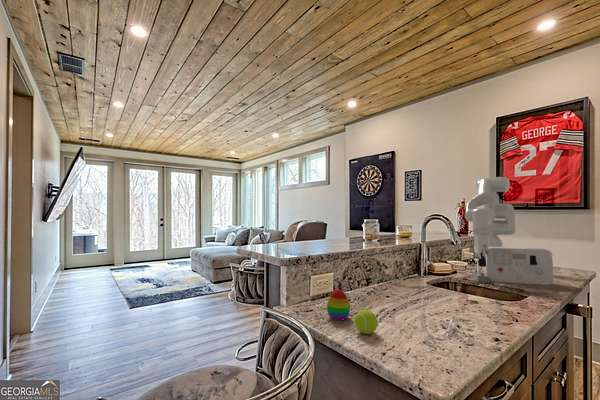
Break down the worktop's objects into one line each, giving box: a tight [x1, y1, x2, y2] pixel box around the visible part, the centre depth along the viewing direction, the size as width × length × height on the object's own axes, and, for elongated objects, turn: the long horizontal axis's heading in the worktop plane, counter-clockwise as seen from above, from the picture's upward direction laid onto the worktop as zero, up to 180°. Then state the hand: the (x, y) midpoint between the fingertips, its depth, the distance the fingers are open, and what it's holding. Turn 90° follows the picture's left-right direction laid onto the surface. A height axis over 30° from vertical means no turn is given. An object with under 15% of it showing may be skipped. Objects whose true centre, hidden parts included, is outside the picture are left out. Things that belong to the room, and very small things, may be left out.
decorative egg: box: [326, 288, 351, 321], centre depth 103 cm, size 8×8×10 cm
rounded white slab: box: [484, 246, 554, 286], centre depth 151 cm, size 29×8×18 cm, turn 69°
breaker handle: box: [475, 258, 483, 276], centre depth 158 cm, size 3×2×9 cm
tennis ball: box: [354, 309, 378, 335], centre depth 90 cm, size 7×7×7 cm
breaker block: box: [471, 269, 490, 284], centre depth 158 cm, size 15×5×4 cm, turn 160°
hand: (482, 266), depth 152 cm, fingers closed
